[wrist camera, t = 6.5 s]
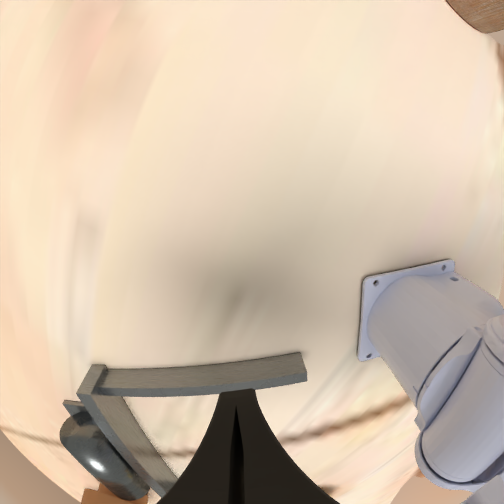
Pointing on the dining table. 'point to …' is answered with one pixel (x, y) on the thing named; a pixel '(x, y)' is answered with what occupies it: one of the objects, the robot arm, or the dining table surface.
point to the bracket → (107, 497)
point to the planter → (481, 13)
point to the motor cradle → (127, 429)
